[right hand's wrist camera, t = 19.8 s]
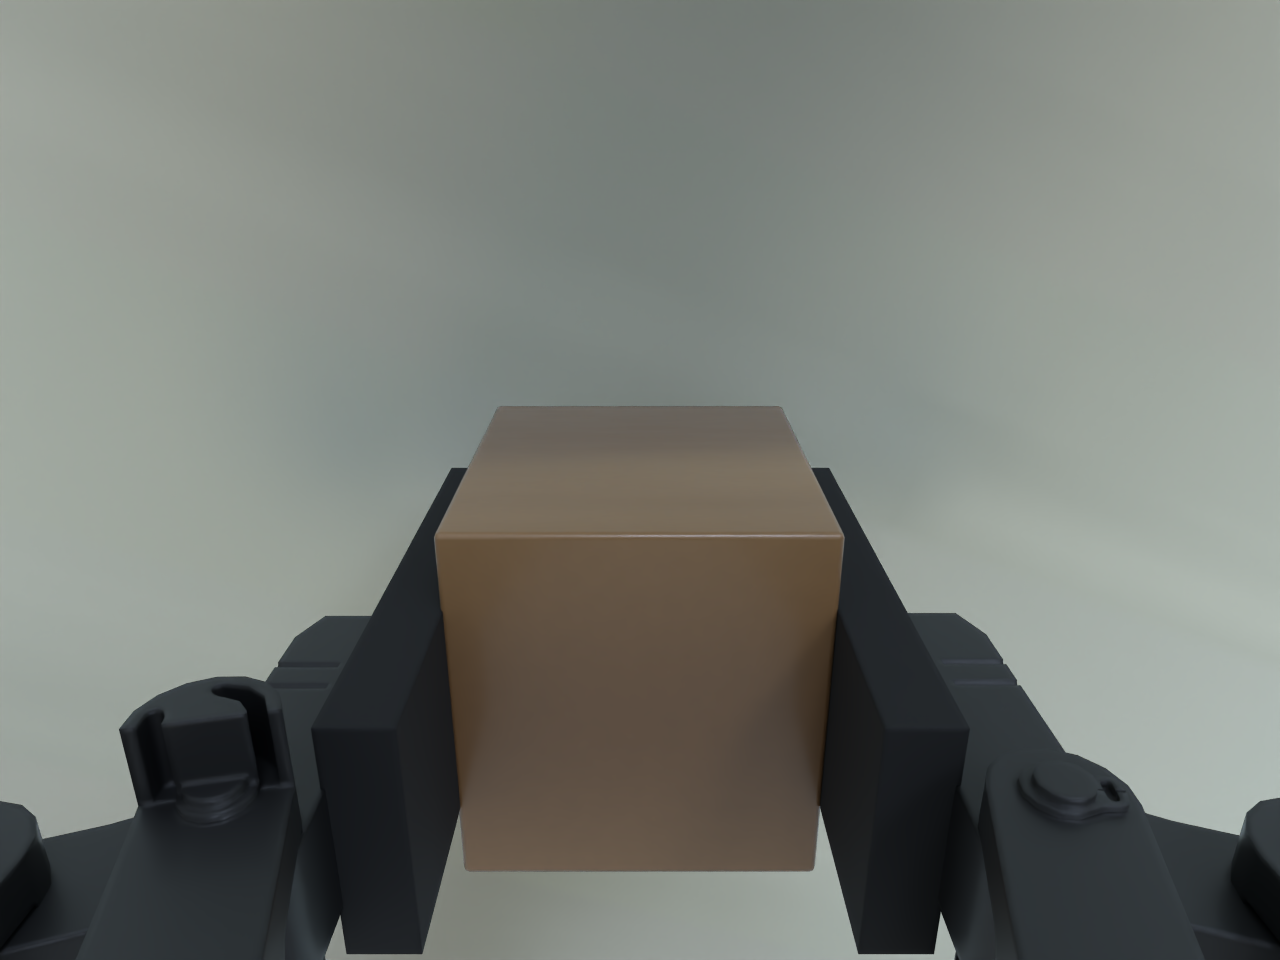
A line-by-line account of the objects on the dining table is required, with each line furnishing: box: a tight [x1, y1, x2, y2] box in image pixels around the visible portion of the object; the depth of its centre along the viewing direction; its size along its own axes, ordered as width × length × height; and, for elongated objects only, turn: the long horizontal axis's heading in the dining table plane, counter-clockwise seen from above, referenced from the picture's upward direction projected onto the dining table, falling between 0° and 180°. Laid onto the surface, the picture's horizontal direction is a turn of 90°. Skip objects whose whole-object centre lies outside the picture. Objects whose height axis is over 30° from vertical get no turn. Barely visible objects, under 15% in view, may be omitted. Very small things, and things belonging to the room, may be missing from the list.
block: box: [434, 406, 845, 871], centre depth 13 cm, size 5×4×5 cm
